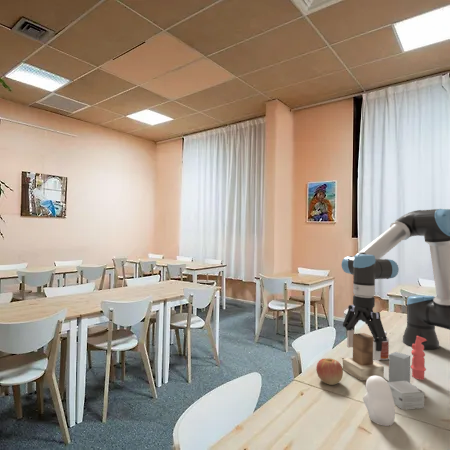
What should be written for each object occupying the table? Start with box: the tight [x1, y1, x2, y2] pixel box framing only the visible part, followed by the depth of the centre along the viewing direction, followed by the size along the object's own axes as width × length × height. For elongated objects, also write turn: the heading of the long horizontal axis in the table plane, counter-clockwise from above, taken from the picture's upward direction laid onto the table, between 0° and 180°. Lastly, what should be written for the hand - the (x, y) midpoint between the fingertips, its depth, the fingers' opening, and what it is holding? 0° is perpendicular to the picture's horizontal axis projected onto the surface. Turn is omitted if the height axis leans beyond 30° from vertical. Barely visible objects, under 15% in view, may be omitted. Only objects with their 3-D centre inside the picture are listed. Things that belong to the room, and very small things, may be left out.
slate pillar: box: [388, 351, 411, 383], centre depth 116 cm, size 5×5×10 cm
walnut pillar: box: [352, 332, 374, 366], centre depth 125 cm, size 5×5×10 cm
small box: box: [387, 381, 425, 410], centre depth 104 cm, size 8×8×5 cm
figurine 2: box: [410, 336, 427, 381], centre depth 123 cm, size 5×5×15 cm
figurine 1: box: [362, 375, 396, 427], centre depth 93 cm, size 7×8×12 cm
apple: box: [316, 358, 344, 386], centre depth 116 cm, size 9×9×8 cm
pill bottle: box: [374, 330, 390, 361], centre depth 141 cm, size 6×6×11 cm
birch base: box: [342, 357, 385, 381], centre depth 125 cm, size 10×10×4 cm
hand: (362, 353), depth 125 cm, fingers open, 13 cm apart
